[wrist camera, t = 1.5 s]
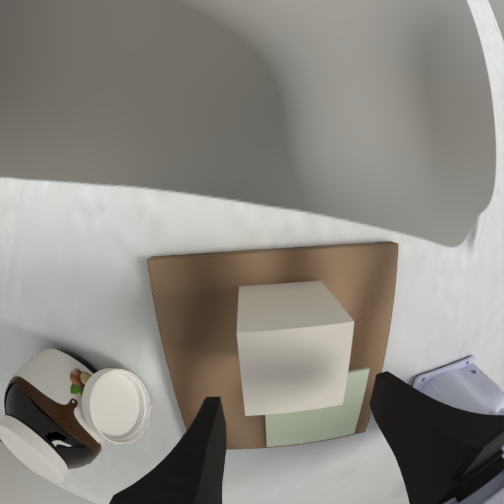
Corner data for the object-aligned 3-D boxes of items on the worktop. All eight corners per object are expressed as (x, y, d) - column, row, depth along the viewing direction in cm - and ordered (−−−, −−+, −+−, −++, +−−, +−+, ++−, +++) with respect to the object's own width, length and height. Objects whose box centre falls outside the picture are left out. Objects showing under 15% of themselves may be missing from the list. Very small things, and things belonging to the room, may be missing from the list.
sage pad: (368, 366, 20) (369, 368, 20) (353, 431, 22) (353, 433, 22) (263, 381, 20) (263, 383, 20) (266, 445, 22) (266, 447, 22)
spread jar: (37, 363, 21) (-20, 422, 10) (71, 304, 20) (-15, 373, 8) (117, 433, 23) (84, 508, 12) (171, 394, 22) (140, 499, 10)
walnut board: (392, 241, 19) (398, 243, 18) (362, 425, 23) (365, 431, 22) (151, 256, 19) (147, 260, 18) (194, 441, 23) (193, 448, 22)
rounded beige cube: (320, 280, 19) (354, 321, 12) (317, 349, 20) (342, 404, 13) (239, 286, 19) (236, 332, 12) (244, 355, 20) (245, 415, 13)
